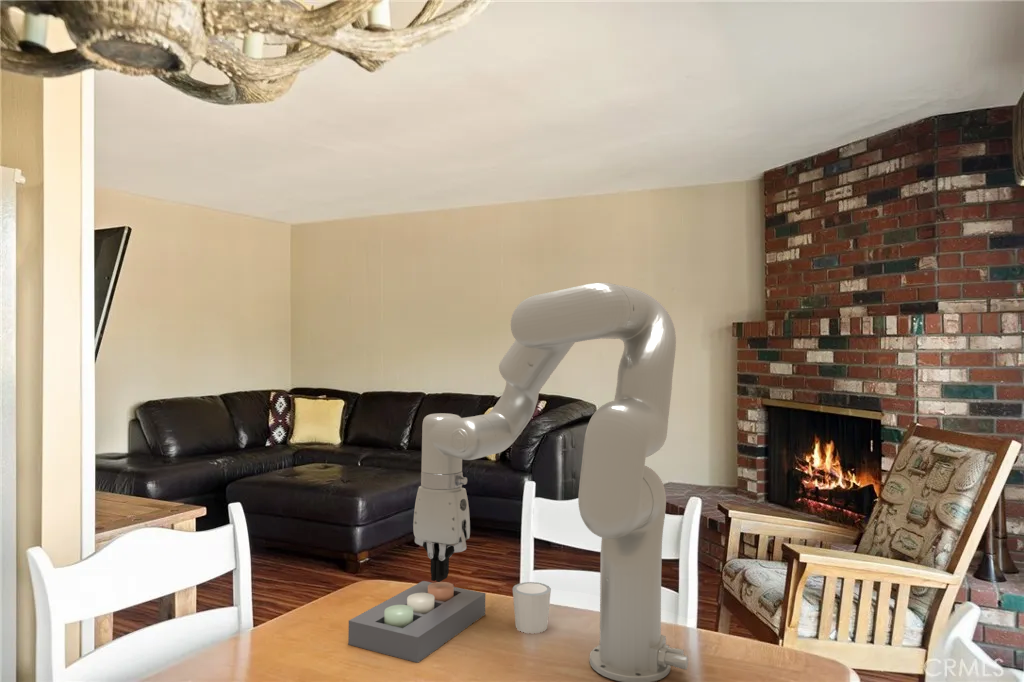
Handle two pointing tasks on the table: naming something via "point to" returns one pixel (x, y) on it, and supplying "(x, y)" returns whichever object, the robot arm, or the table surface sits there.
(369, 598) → the table surface
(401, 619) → the sage button
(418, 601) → the cream button
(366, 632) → the console
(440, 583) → the terracotta button
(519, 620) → the light grey cup
